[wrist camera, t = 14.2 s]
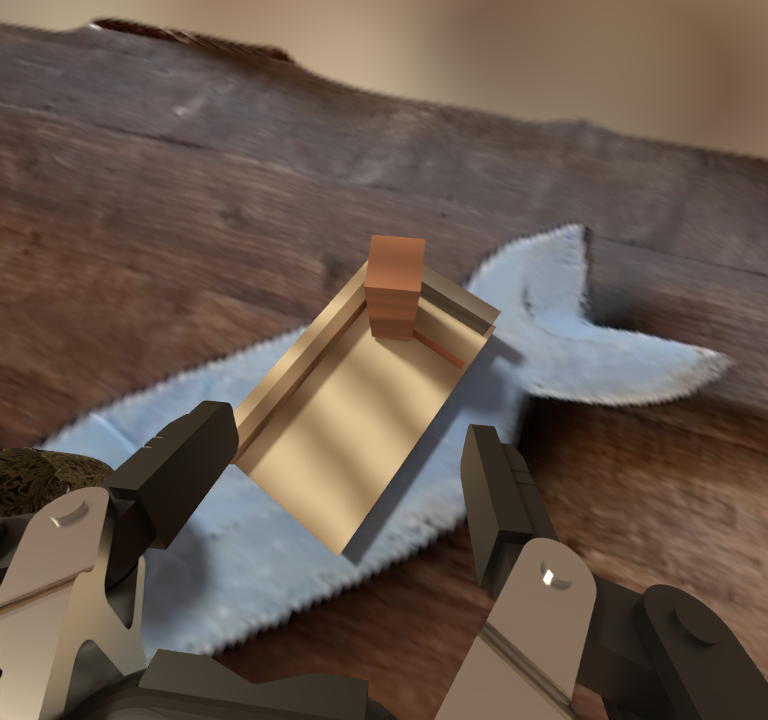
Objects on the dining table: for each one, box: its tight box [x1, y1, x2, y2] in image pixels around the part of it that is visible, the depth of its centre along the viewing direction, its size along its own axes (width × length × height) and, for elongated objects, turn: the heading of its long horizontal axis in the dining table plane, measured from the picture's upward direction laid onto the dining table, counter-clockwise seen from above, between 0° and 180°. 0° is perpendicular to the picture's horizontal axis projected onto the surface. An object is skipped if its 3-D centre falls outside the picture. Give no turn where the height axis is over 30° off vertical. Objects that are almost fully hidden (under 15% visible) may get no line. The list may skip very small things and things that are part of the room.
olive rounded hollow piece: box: [0, 447, 114, 518], centre depth 21 cm, size 8×7×8 cm
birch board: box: [229, 261, 501, 557], centre depth 26 cm, size 23×14×4 cm, turn 143°
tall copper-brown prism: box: [364, 235, 425, 341], centre depth 24 cm, size 5×4×8 cm
